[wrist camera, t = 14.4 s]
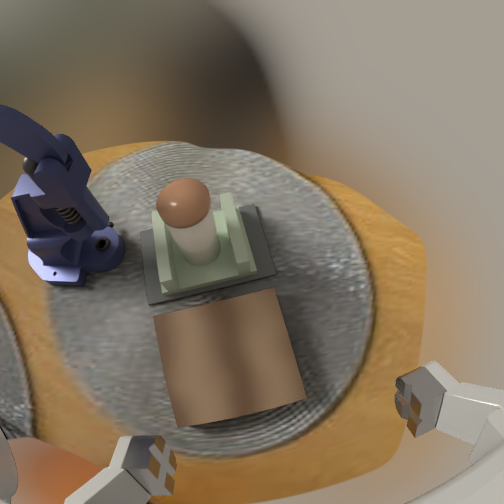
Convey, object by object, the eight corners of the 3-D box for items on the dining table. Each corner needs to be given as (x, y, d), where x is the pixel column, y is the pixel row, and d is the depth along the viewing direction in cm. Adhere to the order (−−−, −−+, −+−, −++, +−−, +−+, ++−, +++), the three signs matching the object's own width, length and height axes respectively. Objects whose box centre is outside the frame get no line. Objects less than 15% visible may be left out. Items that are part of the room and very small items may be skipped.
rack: (164, 296, 30) (152, 284, 26) (156, 231, 33) (145, 213, 29) (256, 273, 31) (257, 258, 27) (238, 211, 34) (236, 190, 30)
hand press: (141, 219, 34) (35, 7, 9) (131, 287, 30) (-50, 81, 5) (34, 228, 34) (-79, 98, 9) (20, 283, 30) (-123, 168, 5)
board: (183, 423, 24) (177, 427, 22) (160, 321, 29) (153, 316, 27) (302, 396, 26) (306, 398, 23) (272, 294, 30) (273, 287, 28)
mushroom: (184, 271, 30) (158, 229, 22) (178, 235, 32) (154, 186, 23) (225, 261, 30) (214, 215, 22) (217, 225, 32) (204, 172, 24)
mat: (149, 305, 30) (148, 304, 29) (141, 233, 33) (140, 232, 33) (276, 274, 31) (276, 273, 31) (254, 205, 35) (254, 203, 34)
